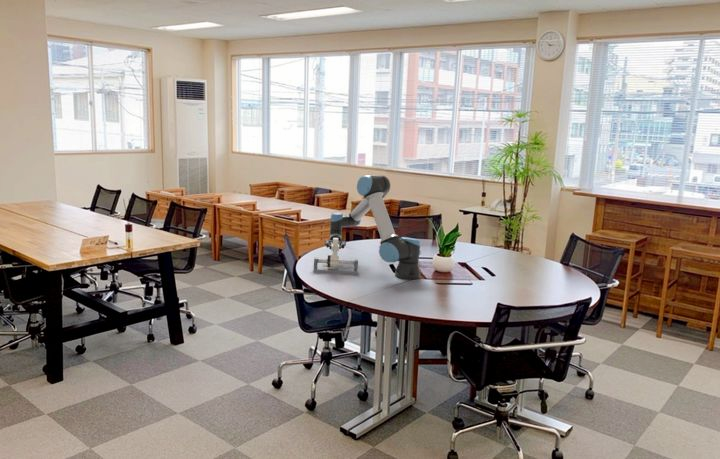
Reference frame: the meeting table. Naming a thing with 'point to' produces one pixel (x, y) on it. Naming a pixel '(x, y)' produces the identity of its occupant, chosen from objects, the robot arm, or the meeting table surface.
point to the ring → (328, 261)
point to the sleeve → (334, 254)
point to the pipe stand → (336, 270)
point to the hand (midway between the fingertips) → (335, 248)
